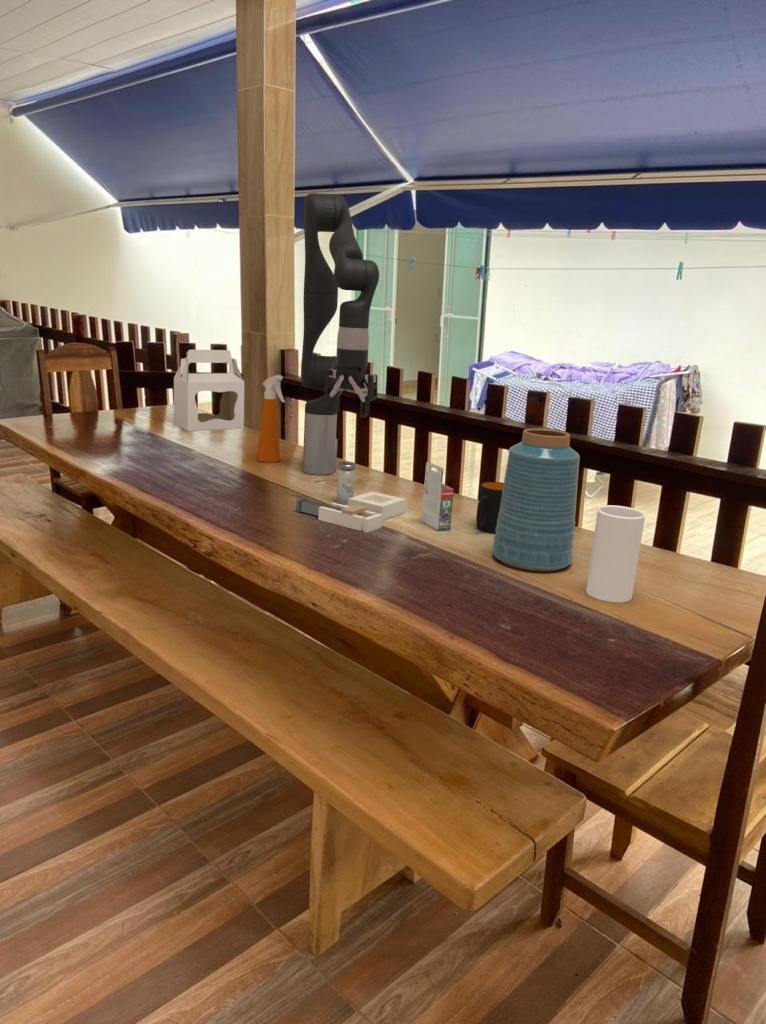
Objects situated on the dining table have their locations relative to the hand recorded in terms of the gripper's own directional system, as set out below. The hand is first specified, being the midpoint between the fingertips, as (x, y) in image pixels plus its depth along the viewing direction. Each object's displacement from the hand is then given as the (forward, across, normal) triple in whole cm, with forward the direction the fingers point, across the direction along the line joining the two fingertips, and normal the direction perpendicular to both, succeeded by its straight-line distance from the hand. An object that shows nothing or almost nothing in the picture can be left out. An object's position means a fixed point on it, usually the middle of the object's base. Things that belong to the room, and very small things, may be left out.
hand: (349, 414), depth 190 cm
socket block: (+22, -11, +2) cm, 25 cm away
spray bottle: (+22, +44, -22) cm, 54 cm away
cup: (+22, -73, +16) cm, 78 cm away
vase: (+22, -54, +8) cm, 59 cm away
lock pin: (+22, -3, +14) cm, 26 cm away
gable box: (+22, +99, -49) cm, 113 cm away
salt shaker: (+22, 0, 0) cm, 22 cm away
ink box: (+22, -27, +1) cm, 35 cm away
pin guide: (+22, -11, +14) cm, 28 cm away
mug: (+22, -38, -5) cm, 44 cm away
